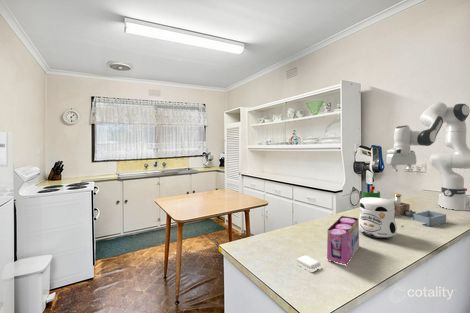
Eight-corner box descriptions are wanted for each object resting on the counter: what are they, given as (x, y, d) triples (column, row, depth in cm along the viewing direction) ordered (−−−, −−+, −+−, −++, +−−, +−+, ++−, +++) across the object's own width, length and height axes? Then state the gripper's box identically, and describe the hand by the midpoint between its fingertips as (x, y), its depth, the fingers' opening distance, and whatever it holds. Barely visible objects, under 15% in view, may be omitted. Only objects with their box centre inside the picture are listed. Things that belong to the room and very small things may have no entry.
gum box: (346, 268, 91) (345, 234, 90) (325, 262, 96) (325, 230, 95) (359, 246, 109) (359, 218, 109) (341, 242, 114) (341, 215, 114)
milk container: (360, 238, 118) (360, 203, 117) (356, 227, 134) (356, 196, 133) (401, 243, 111) (401, 206, 110) (391, 230, 127) (391, 197, 126)
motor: (376, 213, 157) (376, 184, 156) (383, 217, 148) (383, 186, 147) (360, 213, 158) (360, 184, 157) (366, 217, 149) (366, 186, 148)
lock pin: (396, 211, 155) (396, 193, 154) (402, 212, 151) (402, 194, 151) (392, 212, 153) (392, 194, 153) (398, 213, 150) (398, 195, 149)
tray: (428, 218, 143) (428, 210, 143) (446, 222, 135) (446, 214, 135) (412, 222, 138) (412, 213, 138) (430, 227, 130) (430, 218, 129)
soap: (294, 264, 96) (294, 257, 96) (305, 259, 100) (305, 253, 99) (311, 274, 88) (311, 267, 88) (323, 268, 92) (323, 261, 92)
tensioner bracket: (396, 211, 159) (396, 200, 159) (422, 218, 144) (422, 206, 144) (384, 213, 155) (384, 202, 154) (409, 221, 140) (409, 208, 140)
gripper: (410, 150, 156) (409, 170, 156) (384, 150, 152) (384, 171, 152) (419, 150, 150) (419, 171, 150) (393, 150, 145) (392, 172, 146)
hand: (401, 171), depth 151 cm, fingers open, 8 cm apart
